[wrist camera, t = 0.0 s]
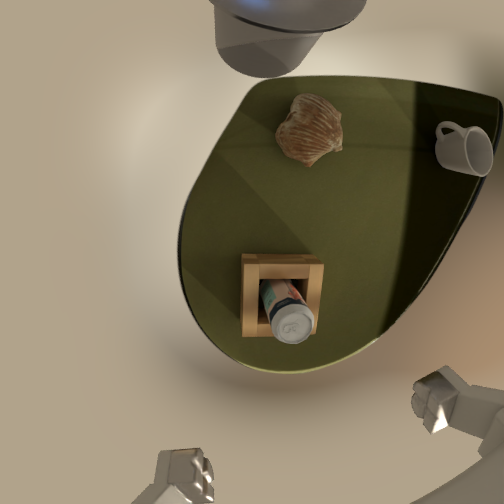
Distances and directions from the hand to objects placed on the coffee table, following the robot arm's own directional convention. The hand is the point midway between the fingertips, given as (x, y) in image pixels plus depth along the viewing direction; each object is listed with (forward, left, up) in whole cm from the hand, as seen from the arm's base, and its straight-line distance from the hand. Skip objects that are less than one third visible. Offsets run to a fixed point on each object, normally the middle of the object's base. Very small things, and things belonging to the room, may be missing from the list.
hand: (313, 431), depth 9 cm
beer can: (+8, +3, -32) cm, 33 cm away
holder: (+8, +2, -32) cm, 33 cm away
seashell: (-12, +12, -32) cm, 36 cm away
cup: (-7, +36, -32) cm, 48 cm away
